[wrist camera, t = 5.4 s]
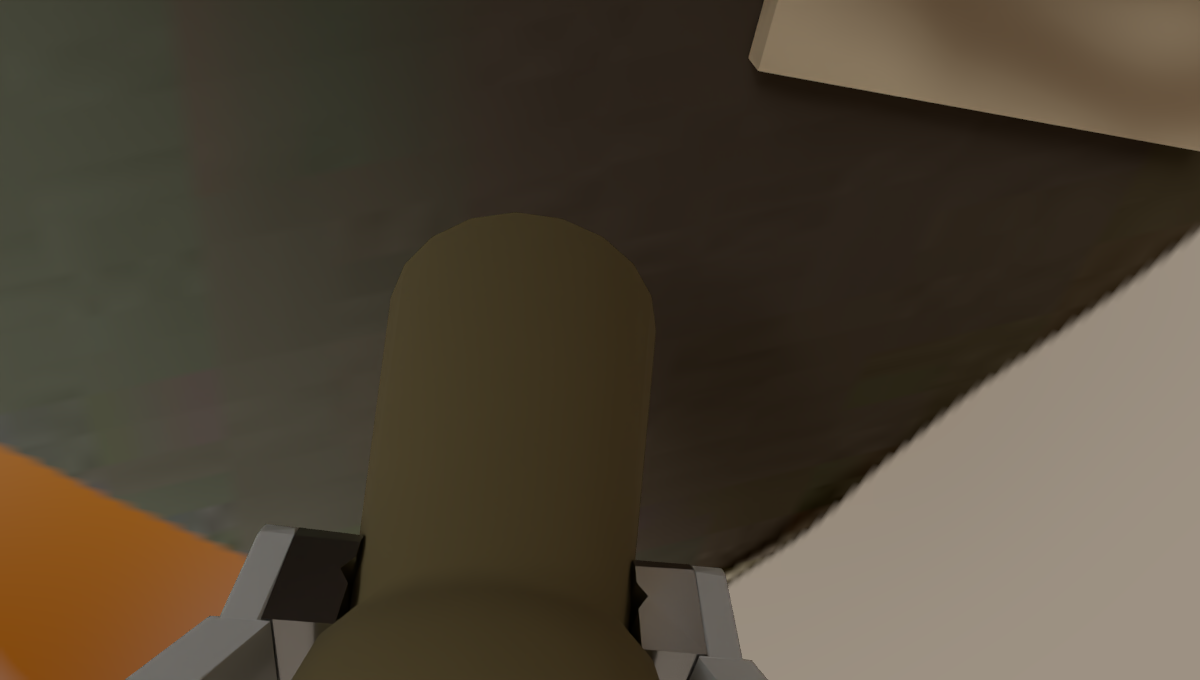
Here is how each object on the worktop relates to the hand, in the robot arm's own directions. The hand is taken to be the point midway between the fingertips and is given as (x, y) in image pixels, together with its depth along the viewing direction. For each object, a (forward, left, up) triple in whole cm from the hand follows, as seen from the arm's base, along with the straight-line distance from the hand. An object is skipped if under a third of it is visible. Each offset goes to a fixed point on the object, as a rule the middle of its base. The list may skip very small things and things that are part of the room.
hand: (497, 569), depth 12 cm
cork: (-1, 0, -7) cm, 7 cm away
